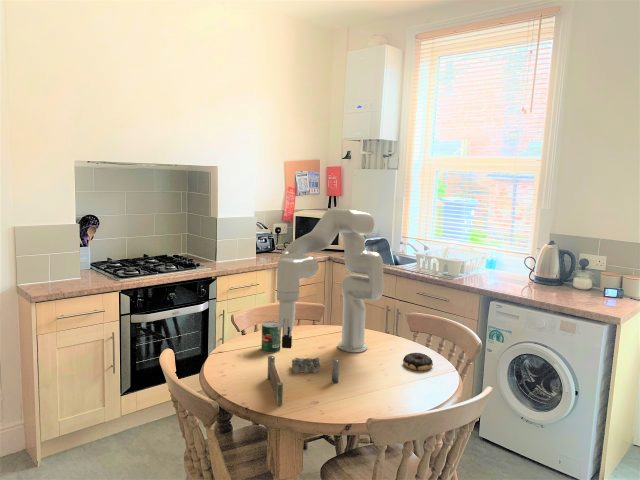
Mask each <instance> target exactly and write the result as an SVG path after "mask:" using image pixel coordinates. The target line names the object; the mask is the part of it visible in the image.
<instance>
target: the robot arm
mask: <svg viewBox="0 0 640 480" xmlns="http://www.w3.org/2000/svg"><path fill="white" fill-rule="evenodd" d="M374 228H375V220H374V217H373V215H372V214H370V213H368V212H363V211H358V210H354V209H344V208H330V209H328V210H327V211H325V212H324V214H323V215H322V217H320V219H319V221H318V222H317V223H316V225H315V226H314V228H313V229H312V230H311V231H310V232H308V233H306V234H304V235H302V236H300V237H298V238H296V239H294V240H292V242H290V243H289V244H288V245H287V246H286V248H284V249H283V251H282V253H281V255H280V256H279V258H278V260H277V264H276V265H277V266H276V269H277V270H276V301H278V302H279V304H278V316H277V318H278V319H277V322H278V330H281V331H282V333H281V334H282V335H281V348H282V349H291V348H292V347H293V344H292V343H293V336H292V331H293V329H294V325H295V319H296V318H295V316H296V302H298V301H299V300H300V280H301V279H309V278H312V277H314V276H315V275H316V274H317V273H318V271H319V262H318V260H317V259H316V258H315V257H313V256H310V255H306V254H309V253H315V252H319V251H323V250H325V249H327V248H329V247H330V246H331V245H332V243H333V241H335V239H336V238H337V236H338V234H339V233H340V235H341V236H342V239H343V243H344V244H343V246H344V247H343V248H344V268H345V269H346V270H347V271H348V272H351V273H352V274H350V273H349V274H347V275H345V276H344V277H343V278H342V282H341V292H342V293H341V294H342V301H343V302H342V321H341V322H342V324H341V327H342V328H341V340H340V341H339V342H338V343H337V348H338V349H339V350H341V351H343V352H348V353H362V352H366V350H367V349H368V344H367V343H366V342H365V331H366V330H365V328H366V303H365V301H364V300H367V301H373V302H374V301H379V300H380V299H381V298H382V296H383V292H384V261H383V257H382V255H381V254H380V253H378V252H375V251H370V250H366V242H365V241H366V239H365V236H367V235H370V234H371V233H372V232H373V231H374ZM354 273H355V274H354Z"/></svg>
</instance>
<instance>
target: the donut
mask: <svg viewBox="0 0 640 480" xmlns="http://www.w3.org/2000/svg"><path fill="white" fill-rule="evenodd" d="M402 362H403V363H402V364H403V365H404V366H405V367H406V368H408V369H409V370H412V369H413V370H412V371H417V370H419V372H420V371H421V372H423V370H424V371H428V370H430V369H431V368H432V367H433V365H434V363H433V359H432V358H431V357H430V356H429V355H426V353H421V352H412V353H411V352H410V353H407V354H406V355H404V357H403V359H402Z"/></svg>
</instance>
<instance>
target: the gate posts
mask: <svg viewBox="0 0 640 480" xmlns="http://www.w3.org/2000/svg"><path fill="white" fill-rule="evenodd" d="M275 357H276V356H274V355H270V356H268V357H267V380H268V381H269V380H270V362H274V365H275ZM331 364H332V366H331V383H332V384H338V383H339V375H340V372H339V371H340V359H336V358H334V359H332V361H331ZM275 366H276V365H275ZM270 381H271V380H270Z"/></svg>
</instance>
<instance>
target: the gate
mask: <svg viewBox="0 0 640 480" xmlns="http://www.w3.org/2000/svg"><path fill="white" fill-rule="evenodd" d="M270 383H271V386H272V389H273V392H274V395H275V398H276V405H277V406H283V397H284V396H283V395H284V393H283V392H284V389H283V387H284V386H283V385H284V384H283V382H282V381H281V378H280V375H279V374H278V371H277V368H276V365H274V362H270Z"/></svg>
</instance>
